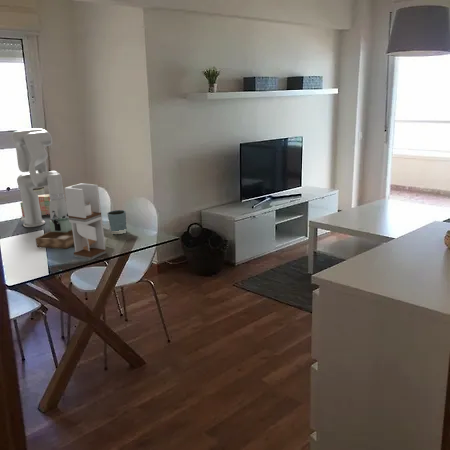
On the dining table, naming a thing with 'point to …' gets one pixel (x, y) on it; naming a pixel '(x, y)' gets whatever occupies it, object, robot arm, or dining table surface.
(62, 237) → the oak crate
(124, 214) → the blue grey cup
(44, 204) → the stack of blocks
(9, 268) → the dining table surface
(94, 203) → the white tiered tower
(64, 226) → the sage crate
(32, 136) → the robot arm
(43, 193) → the coffee can
